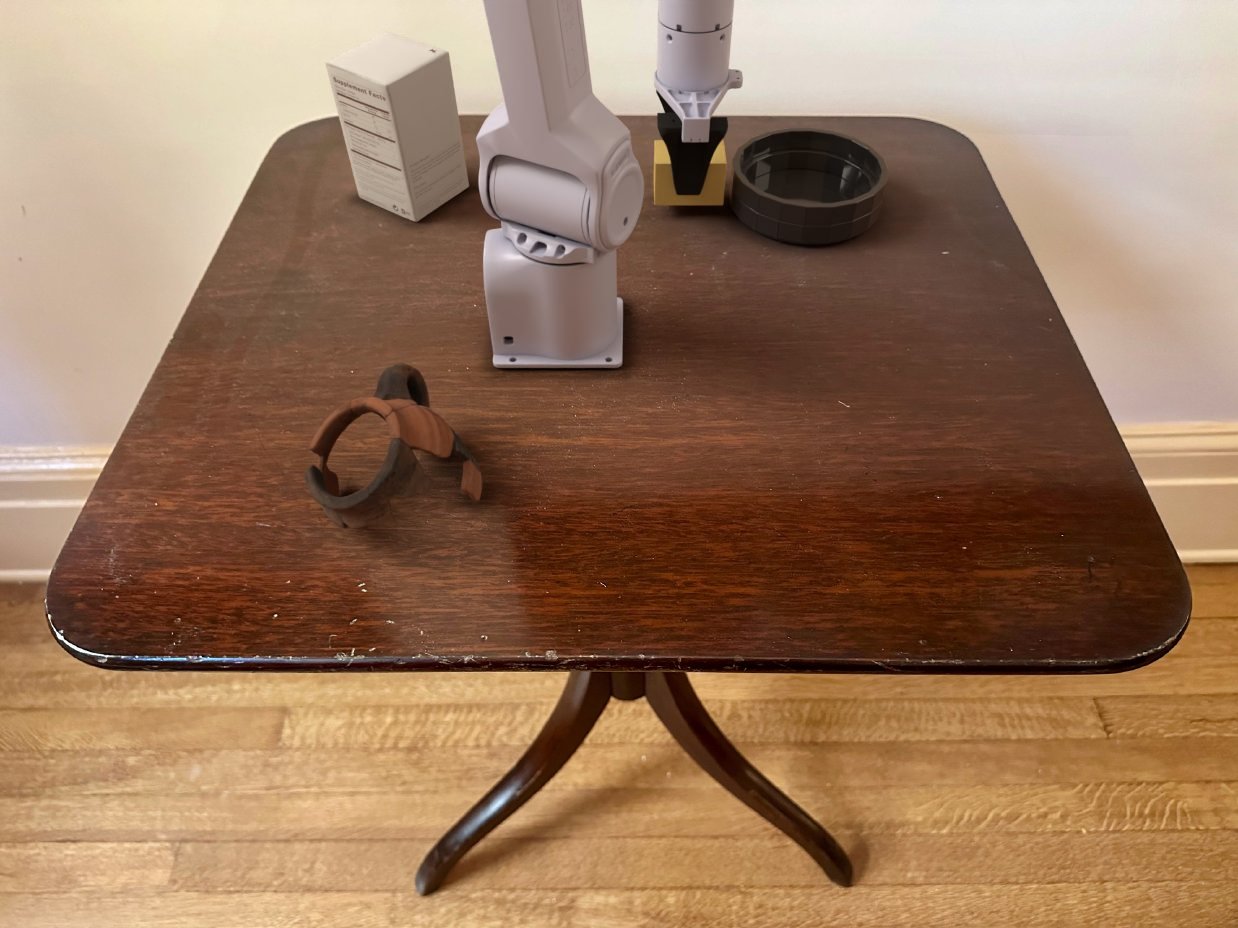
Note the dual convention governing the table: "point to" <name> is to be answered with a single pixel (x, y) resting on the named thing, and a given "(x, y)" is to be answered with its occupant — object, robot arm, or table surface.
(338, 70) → the white packaging box
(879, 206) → the pan
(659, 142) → the yellow box
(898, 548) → the table surface
